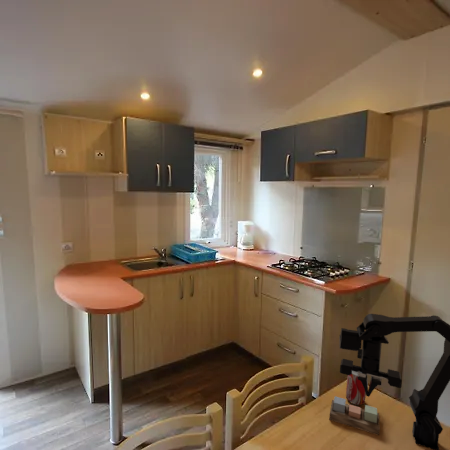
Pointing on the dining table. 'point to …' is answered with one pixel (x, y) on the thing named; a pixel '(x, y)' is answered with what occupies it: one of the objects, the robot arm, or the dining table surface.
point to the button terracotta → (354, 411)
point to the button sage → (370, 414)
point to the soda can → (355, 390)
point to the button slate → (339, 404)
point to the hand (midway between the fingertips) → (367, 395)
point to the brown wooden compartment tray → (354, 420)
